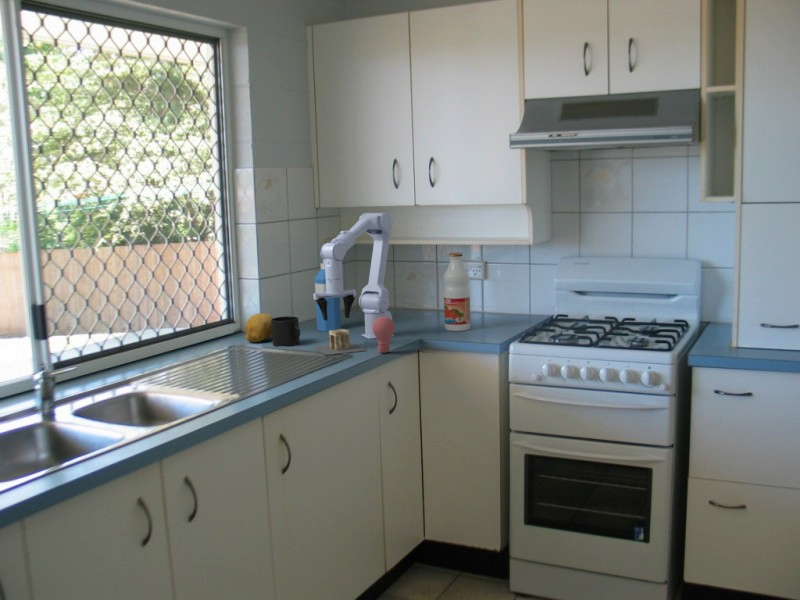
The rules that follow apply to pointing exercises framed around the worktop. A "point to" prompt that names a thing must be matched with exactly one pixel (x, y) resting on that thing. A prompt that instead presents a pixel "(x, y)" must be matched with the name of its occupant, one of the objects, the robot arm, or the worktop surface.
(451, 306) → the fruit juice
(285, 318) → the mug
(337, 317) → the water bottle
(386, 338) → the light bulb
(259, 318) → the potato
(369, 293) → the robot arm
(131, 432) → the worktop surface
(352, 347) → the mat
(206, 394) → the worktop surface
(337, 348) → the stool
